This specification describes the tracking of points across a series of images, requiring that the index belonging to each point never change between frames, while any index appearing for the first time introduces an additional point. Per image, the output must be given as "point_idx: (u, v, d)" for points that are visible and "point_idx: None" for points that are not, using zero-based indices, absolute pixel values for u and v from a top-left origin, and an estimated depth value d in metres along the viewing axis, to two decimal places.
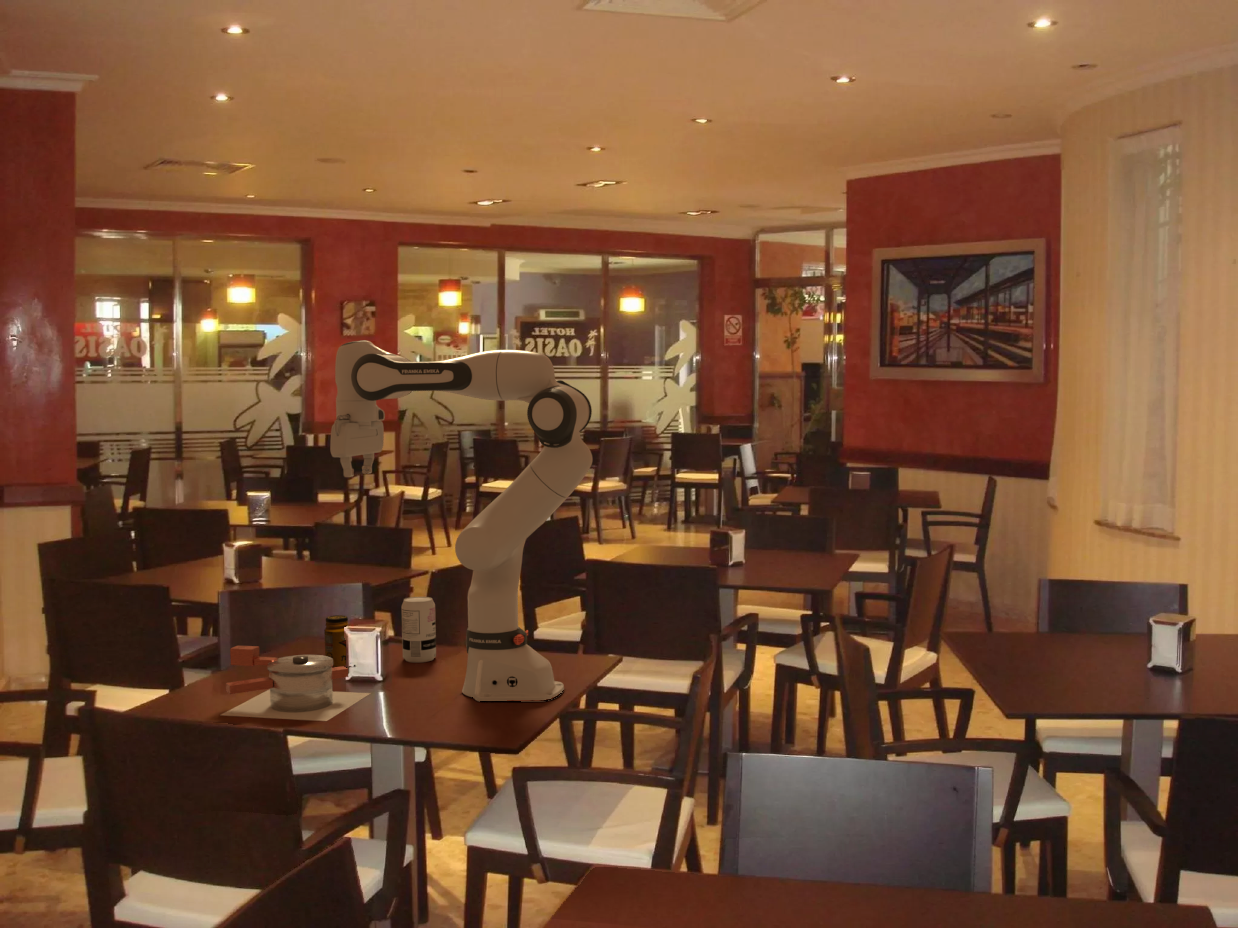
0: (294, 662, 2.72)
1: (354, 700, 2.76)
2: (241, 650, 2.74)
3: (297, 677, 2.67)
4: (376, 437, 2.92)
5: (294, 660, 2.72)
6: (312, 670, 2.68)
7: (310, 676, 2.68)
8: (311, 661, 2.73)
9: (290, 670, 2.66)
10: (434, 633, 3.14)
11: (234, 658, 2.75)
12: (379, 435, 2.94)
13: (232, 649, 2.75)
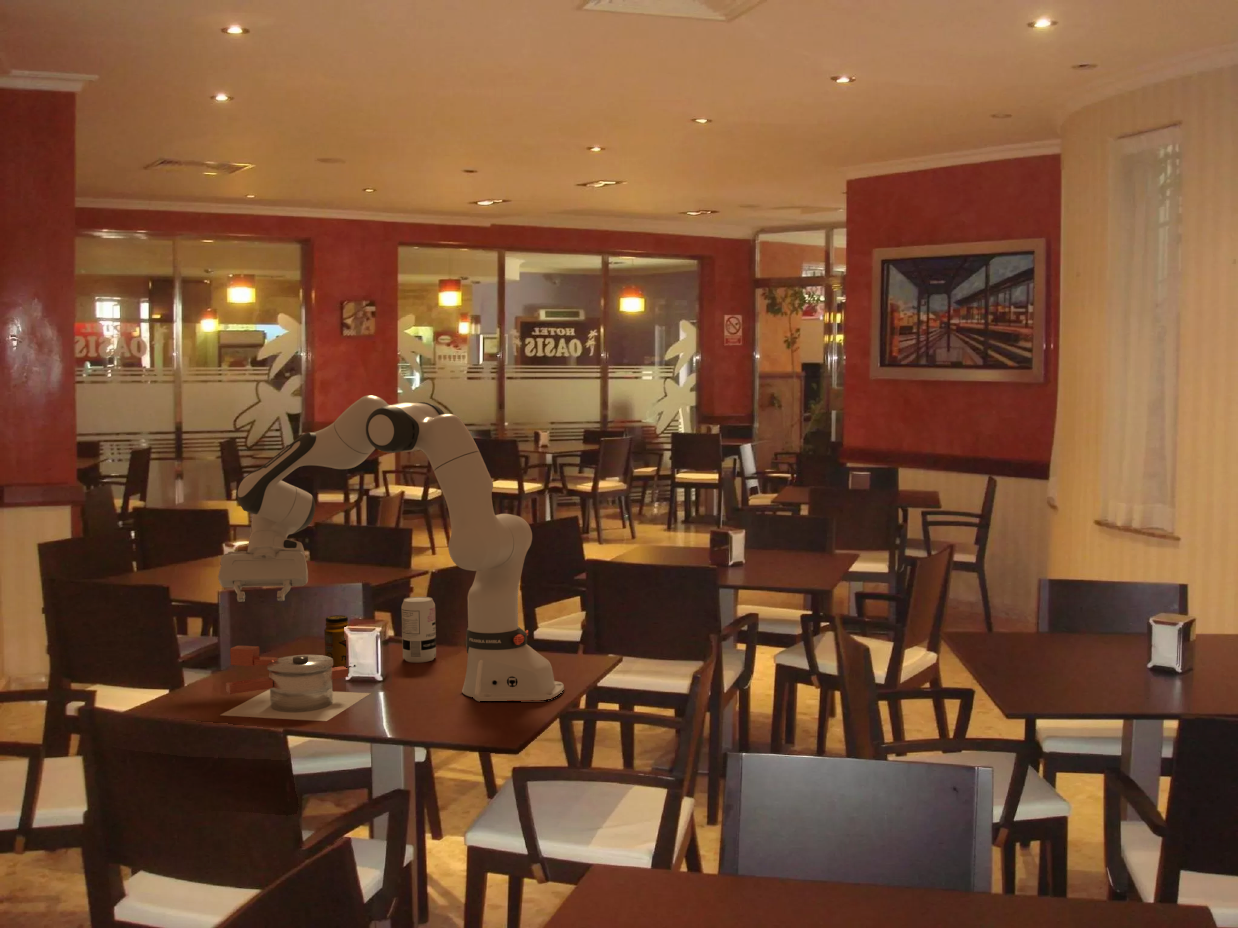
0: (294, 662, 2.72)
1: (354, 700, 2.76)
2: (241, 650, 2.74)
3: (297, 677, 2.67)
4: (290, 565, 2.99)
5: (294, 660, 2.72)
6: (312, 670, 2.68)
7: (310, 676, 2.68)
8: (311, 661, 2.73)
9: (290, 670, 2.66)
10: (434, 633, 3.14)
11: (234, 658, 2.75)
12: (297, 563, 3.00)
13: (232, 649, 2.75)
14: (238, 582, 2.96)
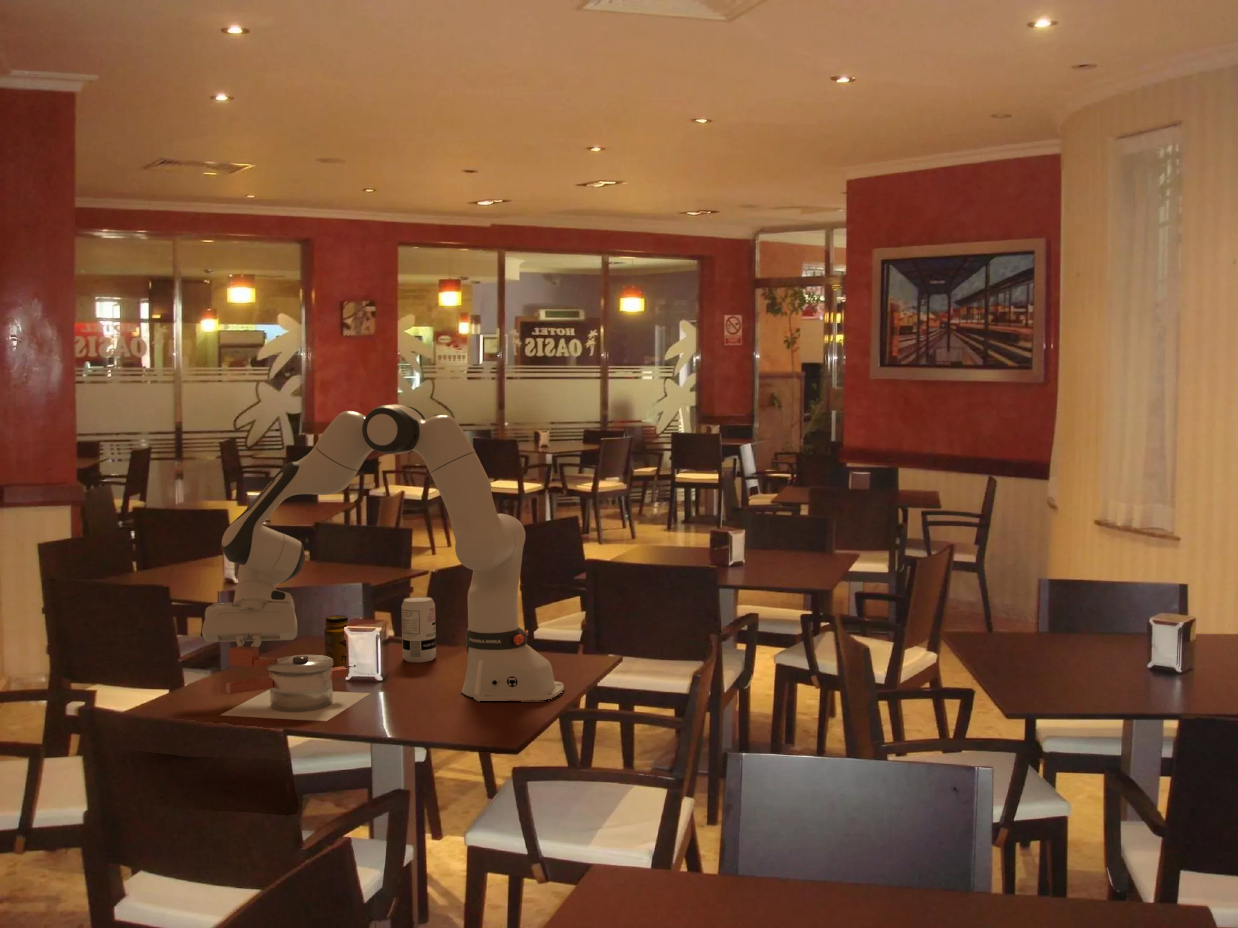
0: (294, 662, 2.72)
1: (354, 700, 2.76)
2: (240, 650, 2.74)
3: (297, 677, 2.67)
4: (278, 618, 2.83)
5: (294, 660, 2.72)
6: (313, 670, 2.68)
7: (310, 676, 2.68)
8: (311, 661, 2.74)
9: (291, 670, 2.66)
10: (434, 633, 3.14)
11: (234, 658, 2.74)
12: (285, 616, 2.83)
13: (231, 649, 2.75)
14: (241, 636, 2.80)
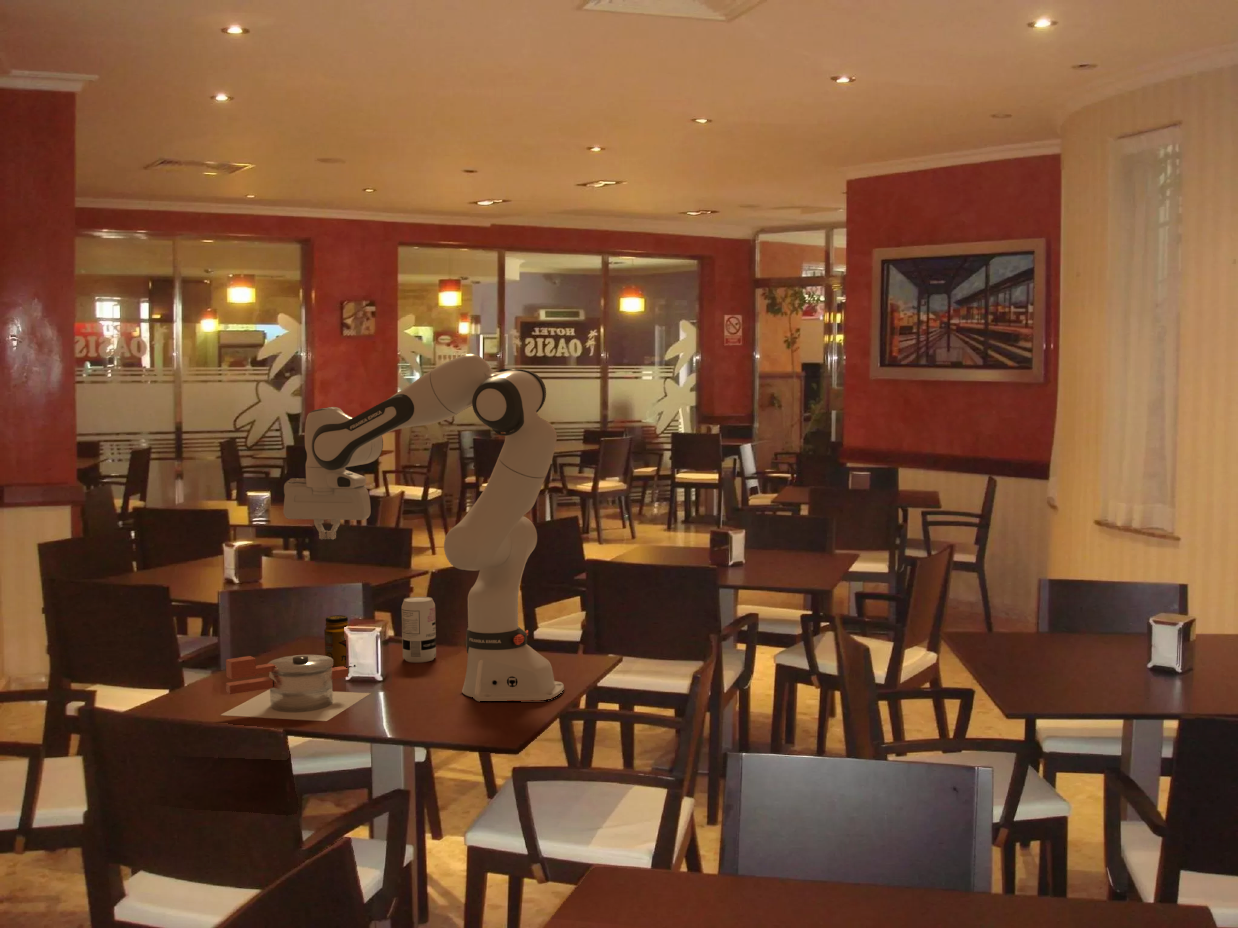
0: (300, 662, 2.72)
1: (354, 700, 2.76)
2: (243, 661, 2.64)
3: (297, 677, 2.67)
4: (348, 504, 2.88)
5: (300, 660, 2.72)
6: (331, 664, 2.73)
7: (310, 676, 2.68)
8: (308, 659, 2.75)
9: (318, 667, 2.68)
10: (434, 633, 3.14)
11: (236, 671, 2.63)
12: (355, 502, 2.88)
13: (233, 662, 2.63)
14: (318, 520, 2.91)
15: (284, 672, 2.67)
